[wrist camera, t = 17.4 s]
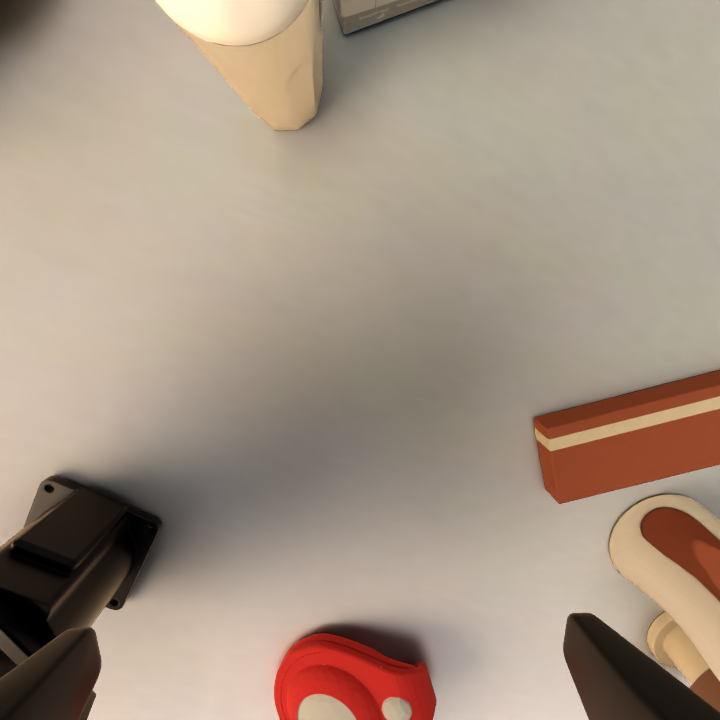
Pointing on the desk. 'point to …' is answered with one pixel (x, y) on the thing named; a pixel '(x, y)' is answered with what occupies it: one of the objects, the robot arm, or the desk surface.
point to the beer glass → (675, 565)
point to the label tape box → (371, 11)
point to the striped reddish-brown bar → (631, 438)
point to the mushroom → (683, 658)
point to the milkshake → (260, 52)
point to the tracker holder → (350, 683)
